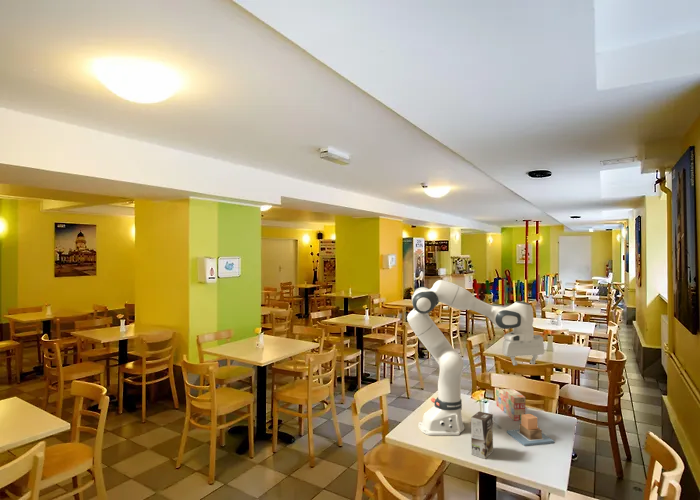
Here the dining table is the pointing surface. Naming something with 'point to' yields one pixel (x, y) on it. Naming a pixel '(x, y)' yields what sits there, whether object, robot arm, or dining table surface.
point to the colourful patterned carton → (511, 403)
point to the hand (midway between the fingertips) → (523, 364)
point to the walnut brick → (531, 433)
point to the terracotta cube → (529, 421)
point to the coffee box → (482, 434)
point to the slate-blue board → (528, 442)
